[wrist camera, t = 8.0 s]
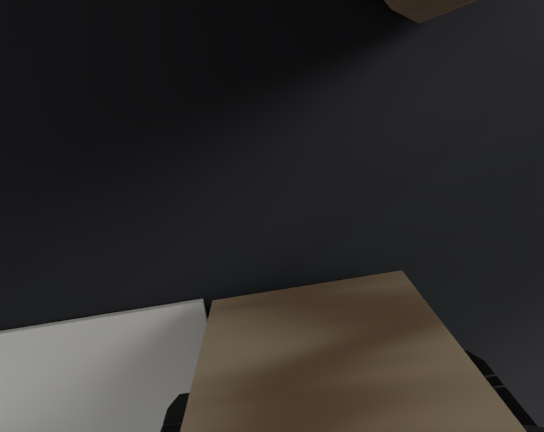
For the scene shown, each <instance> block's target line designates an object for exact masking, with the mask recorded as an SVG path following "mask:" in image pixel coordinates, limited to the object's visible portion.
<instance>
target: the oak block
mask: <svg viewBox="0 0 544 432" xmlns="http://www.w3.org/2000/svg"><path fill="white" fill-rule="evenodd" d="M180 432H527V431H526V430H525V429H524V428H523V426H522V425H521V424H520V422H519V421H518V420H517V418H516V417H515V416H514V415H513V413H512V412H511V411H510V409H509V408H508V407H507V406H506V404H505V403H504V402H503V400H502V399H501V398H500V397H499V395H498V394H497V393H496V391H495V390H494V389H493V387H492V386H491V385H490V384H489V382H488V381H487V380H486V378H485V377H484V376H483V375H482V373H481V372H480V371H479V369H478V368H477V367H476V365H475V364H474V363H473V362H472V360H471V359H470V358H469V356H468V355H467V354H466V353H465V351H464V350H463V349H462V347H461V346H460V345H459V344H458V342H457V341H456V340H455V338H454V337H453V336H452V334H451V333H450V332H449V331H448V329H447V328H446V327H445V325H444V324H443V323H442V322H441V320H440V319H439V318H438V316H437V315H436V314H435V313H434V311H433V310H432V309H431V307H430V306H429V305H428V303H427V302H426V301H425V300H424V298H423V297H422V296H421V294H420V293H419V292H418V291H417V289H416V288H415V287H414V285H413V284H412V283H411V282H410V280H409V279H408V278H407V276H406V275H405V274H404V272H403V271H402V270H401V271H395V272H389V273H382V274H376V275H370V276H363V277H357V278H351V279H344V280H338V281H332V282H325V283H319V284H313V285H307V286H300V287H294V288H288V289H281V290H275V291H269V292H262V293H256V294H250V295H243V296H237V297H231V298H224V299H218V300H213V301H212V305H211V309H210V313H209V317H208V321H207V325H206V329H205V333H204V337H203V341H202V345H201V349H200V353H199V357H198V361H197V366H196V370H195V374H194V378H193V382H192V386H191V390H190V394H189V398H188V402H187V406H186V410H185V414H184V418H183V422H182V426H181V430H180Z"/></svg>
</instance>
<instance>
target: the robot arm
mask: <svg viewBox="0 0 544 432" xmlns="http://www.w3.org/2000/svg"><path fill="white" fill-rule="evenodd" d="M465 353H466V354H467V355H468V356H469V358H470V359H471V360H472V362H473V363H474V364H475V365H476V367H477V368H478V369H479V371H480V372H481V373H482V375H483V376H484V377H485V378H486V380H487V381H488V382H489V384H490V385H491V386H492V387H493V389H494V390H495V391H496V393H497V394H498V395H499V397H500V398H501V399H502V400H503V402H504V403H505V404H506V406H507V407H508V408H509V409H510V411H511V412H512V413H513V415H514V416H515V417H516V418H517V420H518V421H519V422H520V424H521V425H522V426H523V428H524V429H525V430H526V431H527V432H544V428H543V427H539V426H537V425H536V424H535V423H534V421H533V420H532V419H531V418H530V416H529V415H528V414H527V413H526V412H525V410H524V409H523V408H522V407H521V405H520V404H519V403H518V402H517V401H516V399H515V398H514V397H513V396H512V394H511V393H510V392H509V391H508V390H507V388H504V385H503V383H502V382H501V381H500V380H499V379H498V377H497V376H495V374H494V372H493V371H492V370H491V369H490V368H489V366H488V365H487V364H486V363H485V361H484V360H482V359H480V358H479V357H477V356H475V355H473V354H472V353H470V352H468V351H465ZM189 394H190V393H183V394H179V395H178V396H177V398H176V399H175V400H174V401H173V402H172V404H171V405H170V406H169V407H168V408H167V412H166V415H165V418H164V421H163V427H162V428H161V431H160V432H180V430H181V426H182V422H183V418H184V414H185V410H186V406H187V402H188V398H189Z"/></svg>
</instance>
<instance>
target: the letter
mask: <svg viewBox="0 0 544 432" xmlns="http://www.w3.org/2000/svg"><path fill="white" fill-rule="evenodd" d="M207 321H208V319H207V315H206V310H205V306H204V301H203V299H197V300H191V301H184V302H178V303H172V304H166V305H159V306H153V307H147V308H141V309H134V310H128V311H122V312H115V313H109V314H103V315H97V316H90V317H84V318H78V319H72V320H65V321H59V322H53V323H47V324H40V325H34V326H28V327H21V328H15V329H9V330H3V331H0V432H160V431H161V428H162V427H163V421H164V418H165V415H166V412H167V408H168V407H169V406H170V405H171V404H172V402H173V401H174V400H175V399H176V398H177V396H178V395H179V394H183V393H190V390H191V386H192V382H193V378H194V374H195V370H196V366H197V361H198V357H199V353H200V349H201V345H202V341H203V337H204V333H205V329H206V325H207Z"/></svg>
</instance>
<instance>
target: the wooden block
mask: <svg viewBox="0 0 544 432" xmlns="http://www.w3.org/2000/svg"><path fill="white" fill-rule="evenodd" d="M384 1H385V2H386V3H387V5H388V6H389V7H390V8H391V9H392V10H394V11H396V12H397V13H399V14H401V15H403V16H405V17H407V18H409V19H411V20H413V21H415V22H417V23H419V24H421V23H423V22H426V21H428V20H431V19H433V18H436V17H439V16H441V15H444V14H446V13H449V12H452V11H454V10H456V9H458V8H461V7H463V6H465V5H468V4H470V3H472V2H475V1H477V0H384Z"/></svg>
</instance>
